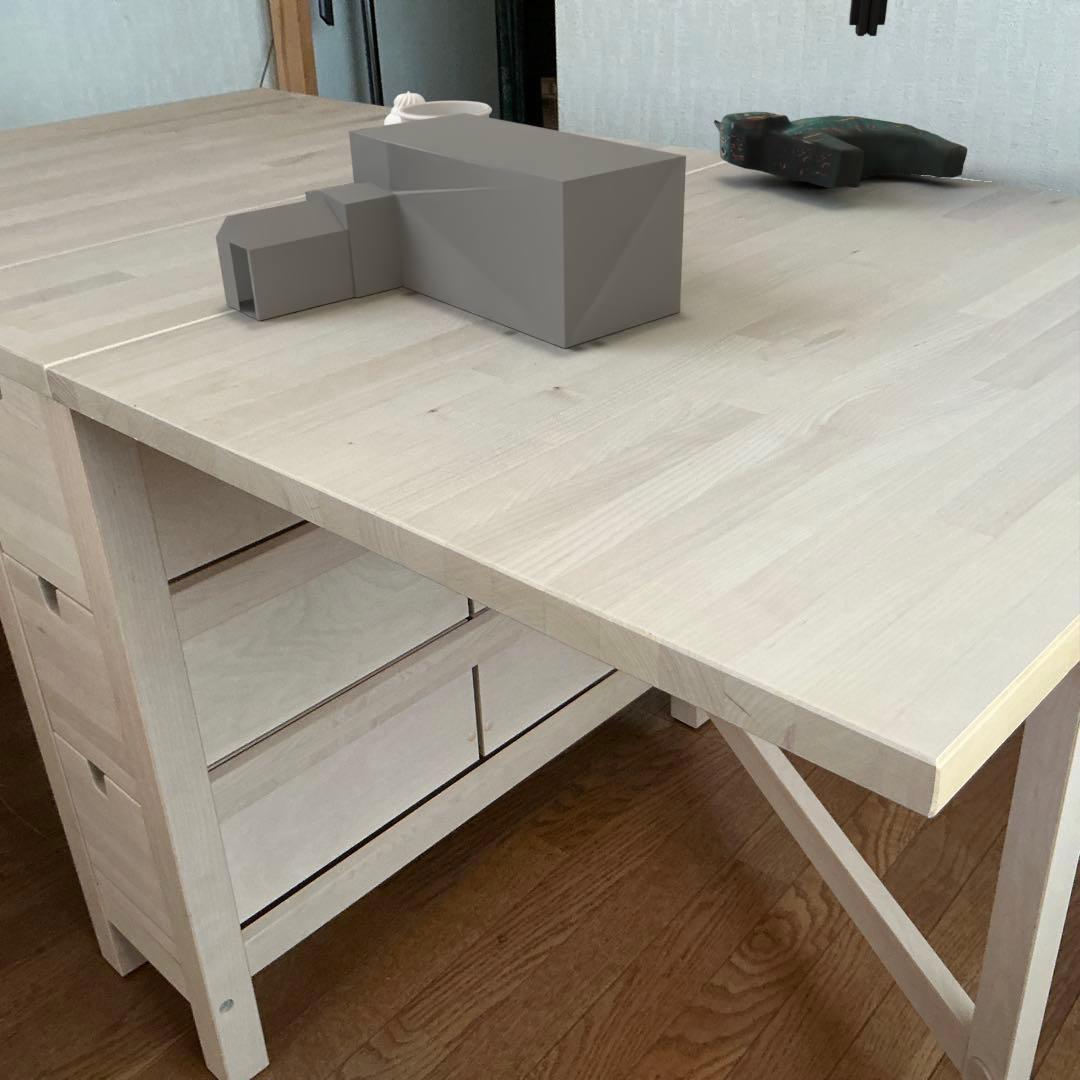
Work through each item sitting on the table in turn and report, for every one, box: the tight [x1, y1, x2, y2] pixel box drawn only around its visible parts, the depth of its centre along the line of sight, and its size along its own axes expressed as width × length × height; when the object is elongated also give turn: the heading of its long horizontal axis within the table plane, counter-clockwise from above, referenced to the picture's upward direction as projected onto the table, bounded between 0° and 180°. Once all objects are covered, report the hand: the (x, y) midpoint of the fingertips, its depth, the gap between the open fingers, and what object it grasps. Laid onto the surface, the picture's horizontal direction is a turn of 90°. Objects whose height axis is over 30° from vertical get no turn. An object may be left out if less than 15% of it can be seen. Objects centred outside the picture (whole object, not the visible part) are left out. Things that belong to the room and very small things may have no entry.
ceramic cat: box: [713, 111, 968, 189], centre depth 117 cm, size 20×6×20 cm
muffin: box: [383, 90, 426, 126], centre depth 133 cm, size 6×6×7 cm
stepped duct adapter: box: [215, 113, 687, 349], centre depth 83 cm, size 25×23×11 cm
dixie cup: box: [398, 100, 493, 123], centre depth 105 cm, size 8×8×10 cm
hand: (865, 33), depth 104 cm, fingers closed
